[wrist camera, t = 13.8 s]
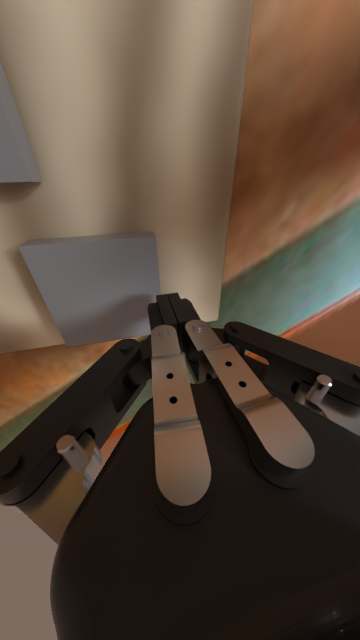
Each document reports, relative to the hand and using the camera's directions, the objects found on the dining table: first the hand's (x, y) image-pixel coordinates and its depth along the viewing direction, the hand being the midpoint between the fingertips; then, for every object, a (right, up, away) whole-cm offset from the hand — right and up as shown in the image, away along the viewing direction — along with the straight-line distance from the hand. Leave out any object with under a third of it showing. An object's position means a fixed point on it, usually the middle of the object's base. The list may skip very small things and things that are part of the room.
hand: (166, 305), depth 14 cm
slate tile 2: (-1, +2, +2) cm, 3 cm away
